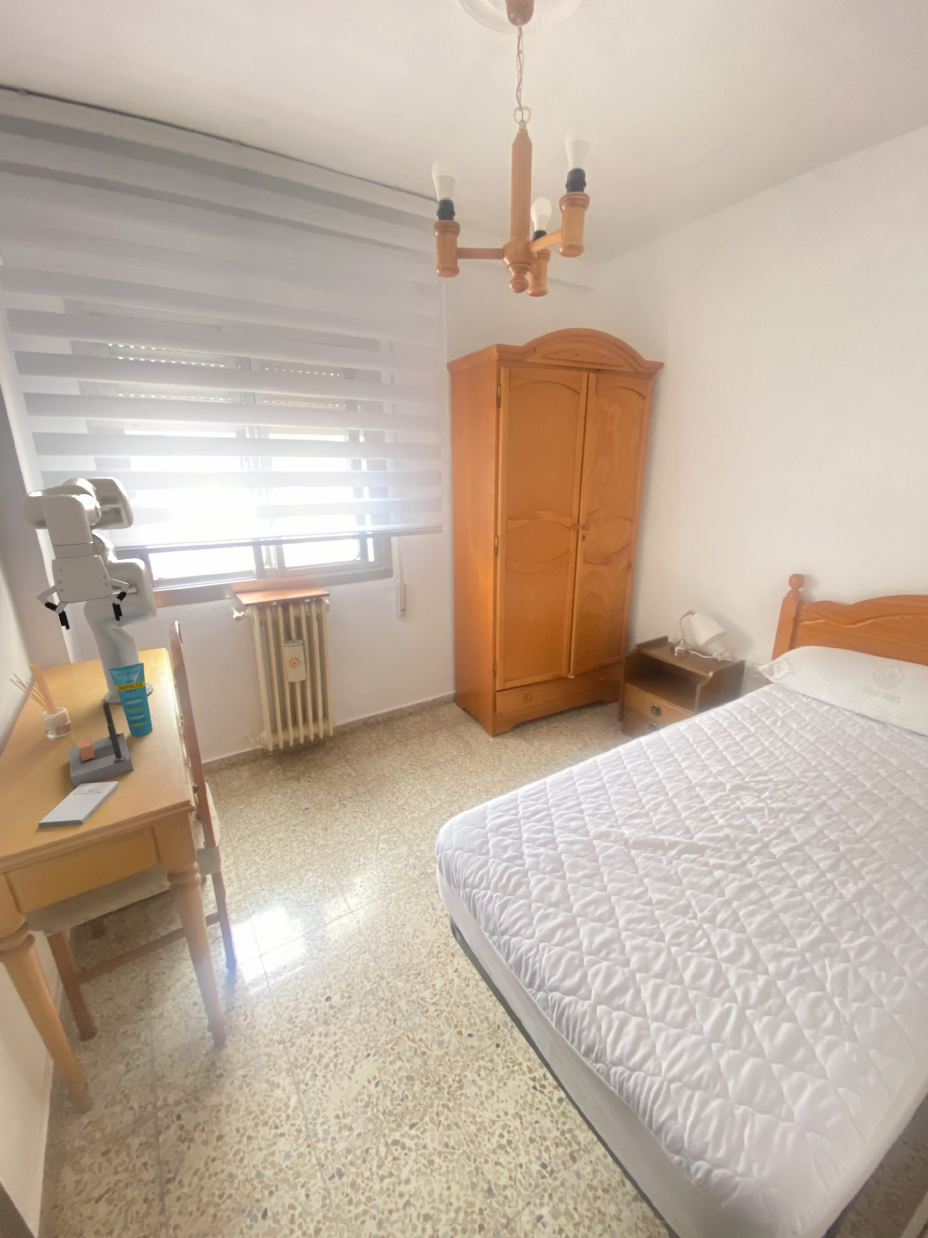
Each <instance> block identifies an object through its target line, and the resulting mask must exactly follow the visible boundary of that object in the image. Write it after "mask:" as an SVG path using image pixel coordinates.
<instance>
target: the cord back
mask: <svg viewBox="0 0 928 1238" xmlns="http://www.w3.org/2000/svg"><path fill="white" fill-rule="evenodd" d="M102 708H103V712H104V716H105V719H106V723H107V726H108V725H109V724H113V725H114V728H115V732H116V733H117V730H116V726H115V724H114V719H113V715H112V712H111V708H110V703H107V702H104V703H102Z"/></svg>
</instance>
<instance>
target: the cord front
mask: <svg viewBox="0 0 928 1238" xmlns="http://www.w3.org/2000/svg"><path fill="white" fill-rule="evenodd" d="M114 726H115V724H114V725H113V724H109V725H108V724H107V731H108V735H109V736H110V739H111V742H112V746H113V750H114V753H115V757H116V758H121V757H122V754H121V750H120V747H119V743H118V739H117V735H116V734H117V731H116V732H115V730H116V727H115V728H114Z"/></svg>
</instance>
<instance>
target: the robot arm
mask: <svg viewBox="0 0 928 1238" xmlns="http://www.w3.org/2000/svg"><path fill="white" fill-rule="evenodd" d="M20 509H21V515H22V517H23V519H24V521H25V523H26V524H27V525H28V526H30V528H32V529H34V530H35V529H36V530H47V531H48V536H49V539H50V543H51V547H52V550H53V551H52V552H53V555H54V559H51V572H52V578H53V582H54V585H52V586H51V587H49V588H47V589H45V590H43V591H42V592H40V593H39V594H37V595H36V600H38V601H39V602H40V603H41V604H42V605H43V606H44V607H45V608H47V609H48V610H51V611H52V612H55V613H56V614H57V616H58V620H59V624H60V626H61V627H65V630H66V631H67V630H70V629H71V627H70V624H69V620H68V616H67V612H66V610H65V608H66V607H67V605H69V604H76V603H81V602H85V603H84V606H83V615H84V617H85V619H86V622H87V623H88V626H89V628H90V630H91V633H92V634H93V635H92V636H93V638H94V641H95V645H96V648H97V651H98V657H99V660H100V664H101V667H102V672H103V675H104V679H105V682H106V687H107V690H108V691H107V692H106V693H105V694H104V696H103V700H104V703H108V704H113V705H116V704H119V705H120V704H122V703H121V701H120V698H119V695H118V692H117V689H116V686H115V684H114V681H113V679H112V676H111V674H110V672H109V670H108V669H111V668H118V667H124V666H129V665H134V664H138V663H142V662H141V659H140V655H139V654H140V653H139V649H138V646H137V640H136V638H135V637H134V635H133V634H132V633H131V632H130V631H128V630H127V629H125V628H124V627H125V626H133V625H137V624H138V625H139V624H145V623H151V622H152V621H154V620H155V619H156V617H157V613H158V612H157V605H156V600H155V599H156V598H155V595H154V591H153V586H152V580H151V575H150V571H149V570H148V569H149V568H148V566H147V564H146V563H145V562H144V561H143V560H142V559H139V558H126V559H117V553H116V552H117V551H116V548H115V546H114V544H112V543H111V542H110V541H109V540H108V539H106V537H104V536H102V535H100V534H99V533H97V532H95V531H110V530H121V529H127V528H131V526H132V525H133V523H134V513H133V510H132V507H131V504H130V502H129V498H128V494H127V492H126V489H125V488H124V486H123V485H122V483H121V482H120V481H119V480H118V479H116V478H114V477H112V476H107V477H105V476H103V477H99V476H98V477H95V476H94V477H76V478H74V477H73V478H69V479H68V480H66V481H65V482H63V483H62V484H61V485H59V486H53V487H48V488H45V489H39V490H34V491H31V492H29V493H27V494H26V495H25V496H24V497H23V499H22V502H21V507H20ZM55 593H56V594H57V595H56V596H57V598H58V600H59V602H58V604H55V603H53V602H52V601H50V600H49V599H48V597H50V596H51V595H53V594H55ZM145 685H146V692H147V696H148V695H150V694H151V693H152V692H153V690H154V688H153V685H152V684H151V683H147V682H145Z"/></svg>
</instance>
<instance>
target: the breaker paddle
mask: <svg viewBox="0 0 928 1238" xmlns="http://www.w3.org/2000/svg"><path fill="white" fill-rule="evenodd" d="M92 742H93V741H92V738H91V737H90V738H86V739H83V740H79V741H77V746H78V747H79V752H80V755H81V759H82V761H84V760H88V759H91V758H94V757H95V753H94V748H93V745H92Z"/></svg>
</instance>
